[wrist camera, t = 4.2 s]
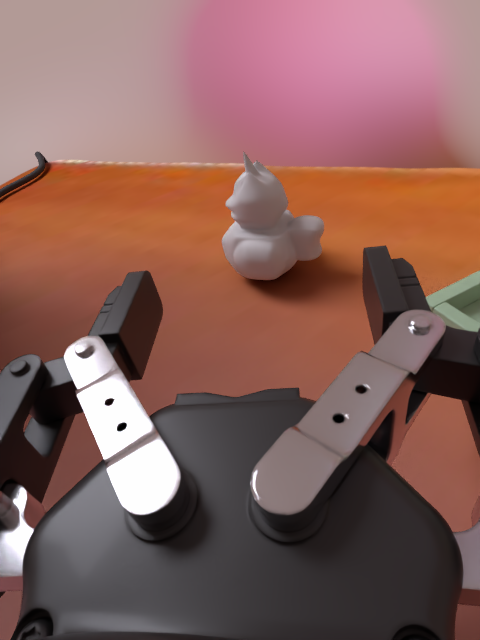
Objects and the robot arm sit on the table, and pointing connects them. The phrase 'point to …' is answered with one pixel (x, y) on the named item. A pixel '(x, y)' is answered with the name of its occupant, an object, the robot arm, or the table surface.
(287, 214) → the white plastic figurine
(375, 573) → the robot arm
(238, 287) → the table surface
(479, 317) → the tray
